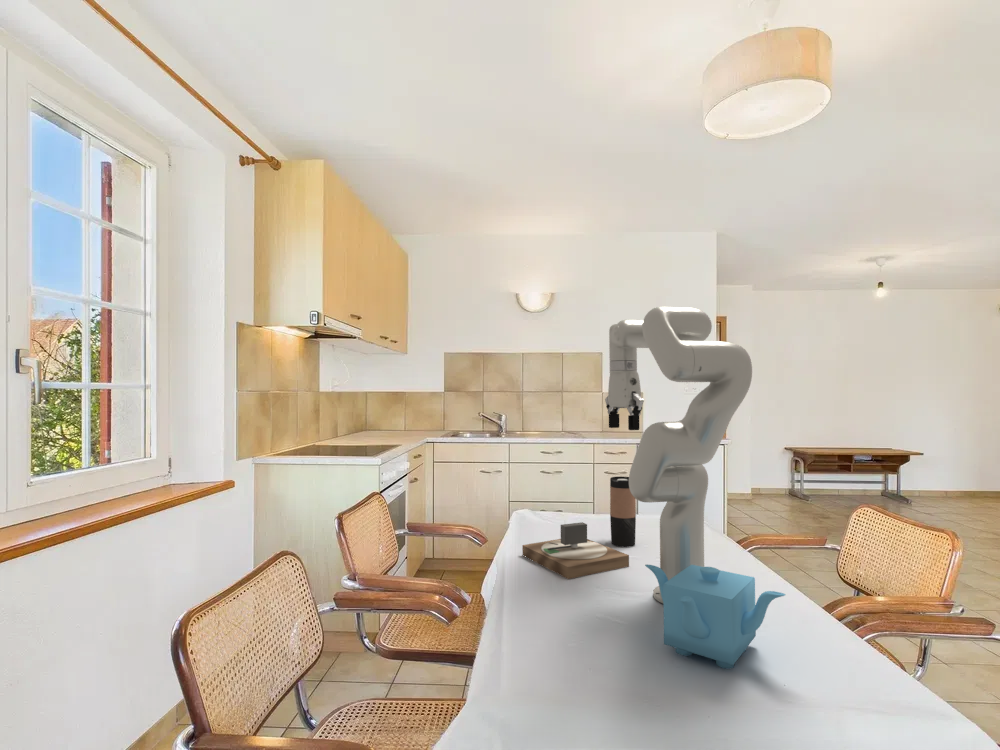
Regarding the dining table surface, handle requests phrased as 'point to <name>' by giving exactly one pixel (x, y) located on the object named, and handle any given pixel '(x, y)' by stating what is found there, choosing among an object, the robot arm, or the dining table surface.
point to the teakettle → (711, 612)
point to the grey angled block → (572, 535)
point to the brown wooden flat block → (575, 558)
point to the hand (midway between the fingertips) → (623, 428)
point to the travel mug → (622, 512)
